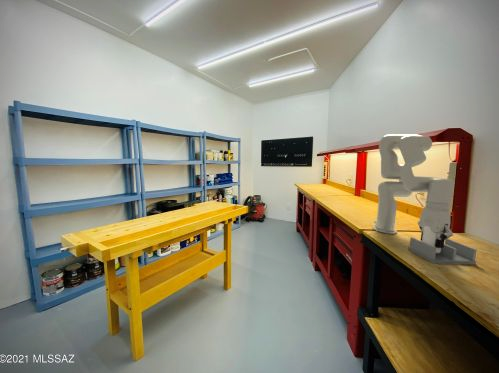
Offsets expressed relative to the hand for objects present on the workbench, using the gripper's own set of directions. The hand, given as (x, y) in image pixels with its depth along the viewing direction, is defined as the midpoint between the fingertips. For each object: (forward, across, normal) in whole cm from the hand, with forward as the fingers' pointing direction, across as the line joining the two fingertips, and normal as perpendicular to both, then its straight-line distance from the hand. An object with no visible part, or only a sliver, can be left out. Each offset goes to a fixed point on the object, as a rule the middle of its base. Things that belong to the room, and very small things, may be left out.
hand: (431, 243), depth 86 cm
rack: (+6, 0, +4) cm, 7 cm away
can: (+3, 0, 0) cm, 3 cm away
